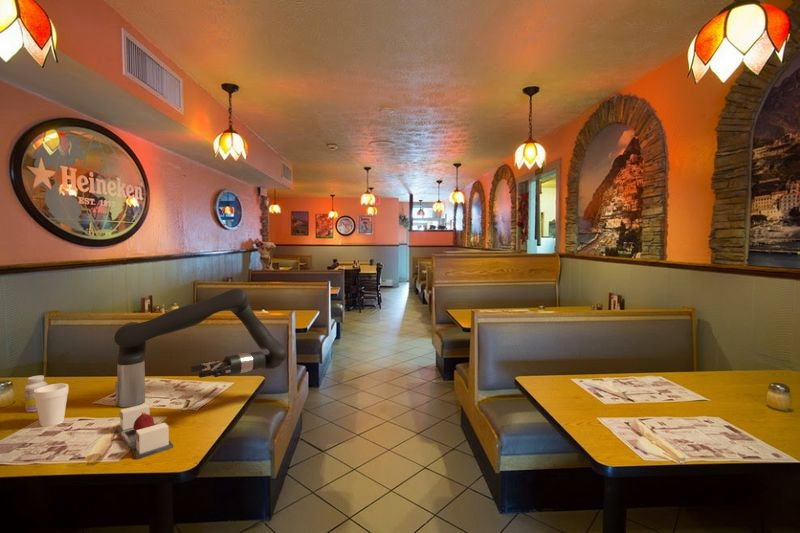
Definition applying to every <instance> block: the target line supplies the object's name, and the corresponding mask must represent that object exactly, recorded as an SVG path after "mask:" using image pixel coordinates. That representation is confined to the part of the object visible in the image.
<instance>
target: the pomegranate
mask: <svg viewBox="0 0 800 533" xmlns="http://www.w3.org/2000/svg"><path fill="white" fill-rule="evenodd" d="M154 423H155V420H154V417H153V416H152V415H148V414H146V413H145V412H144V411H143V412H142V414H141V415H140V416H139V417H138V418H137V419H136V421H135V422H134V426H133V427H134V430H135V431H136V430H140V429H143V428H147V427H150V426H154Z"/></svg>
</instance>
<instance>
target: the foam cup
mask: <svg viewBox="0 0 800 533" xmlns="http://www.w3.org/2000/svg"><path fill="white" fill-rule="evenodd" d="M68 394H69V384H68V383H52V384H48V385H46V386H42V387H39V388H37V389H35V390H34V398H35V401H36V406H37V411H36V412H37V414H38V419H39V423H40V427H43V428H44V427H45V428H46V427H47V428H48V427H49V428H50V427H53V426H58V425H60V424H62V423H64V420H65V414H66V406H67V400H68Z"/></svg>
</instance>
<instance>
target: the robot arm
mask: <svg viewBox="0 0 800 533" xmlns="http://www.w3.org/2000/svg"><path fill="white" fill-rule="evenodd" d="M249 302H250V301H249V298H248V295H247V293H246V291H244V290H243V289H240V288H233V289H229V290H227V291H225V292H222V293H219V294H217V295H214V296H212V297H209V298H207V299H204V300H201V301H197V302H194V303H191V304H186V305H184V306H180V307H177V308H174V309H172V310H169V311H167V312H165V313H163V314H160V315H158V316H157V317H154V318H152V319H149V320H145V321H142V322H136V321H131V322H127V323H125V324H123V325H122V326H121V327H119V328H118V329H117V330H116V332H115V334H114V337H113V339H114V342H115V344H116V345H117V346H119V348H118V355H117V358H116V361H117V365H116V366H117V367H116V368H117V369H116V371H117V381H116V382H115V406H117V407H120V408H130V407H134V406H138V405H143V404H144V403H145V401H146V385H145V384H146V381H145V380H146V377H145V376H146V372H145V371H146V370H145V366H146V364H145V356H146V350H147V349H146V346H147V345H146V342H147V341H149V340H151V339H154V338H157V337H159V336H162V335H167V334H171V333H174V332H178V331H181V330H182V331H183V330H186V329H188V328H191V327H194V326H196V325H198V324H201V323H203V322H204V321H205V320H206V319H208V318H209V317H212V315H214V314H216V313H220V312H223V311H226V310H229V311H230V312H231V313H232V314H233V315H234V316H235V317H237V319H239V320H240V321H241V323H242V324H243V325H244V327H245V329H246V330H247V331H248V333H249V335H250V336H251V338H252V340H253V341H254V342H255V344H256V345H257V346H258V348H259V349H261V350H267V351H268V352H269V353H267V354H265V353H264V352H263V351H253V352H248V353H247V352H244V353H238V354H237V353H236V354H231V355H227V356H225V357H224V359H223V360H222V361H221V360H218V359H213V360H208V361H201V363H200V364H196V365H191V366H190V372H191V373H195V372H198V378H201V379H202V378H207V377H214V378H219V377H223V376H233V375H238V374H239V375H240V374H243V373H244V374H245V373H247V372H250V371H255V370H259V369H263V370H264V369H265V370H266V369H267V370H269V369H270V370H272V369H276V368H279V367H280V366H281V365H282V363H283V362H284V361H285V360H286V358H287V357H288V351H287V349H286V347H285V346H284V344H282V343H281V342H280V341H278V340H277V339H276V338H275V337H274V336H273V335H272V334H271V332H270V331H269V329H268V328H267V327H266V326H265V324H264V322H262V320H260V319H259V318H258V317H257V316H256V314H255V312H254V311H253V309H252V307H251V305H250V303H249Z"/></svg>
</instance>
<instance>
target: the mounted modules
mask: <svg viewBox="0 0 800 533" xmlns="http://www.w3.org/2000/svg"><path fill="white" fill-rule="evenodd" d="M143 411H144V412H145V413H146V414H148V415H150V412H151V411H150V405H149V404H147V403H142V404H139V405H136V406H132V407H125V408H122V409H120V410H119V420H120V423H119V424H120V425H119V426H121V428H122V429H123V430H126V429H129V428H133V426H134V422H135V421H136V419H137V418H138V417H139V416H140V415H141V414H142V412H143ZM150 416H151V415H150ZM169 432H170V431H169V424H167V423H166V422H162V423H158V425H154V426H150V427H147V428H143V429H140V430H136V433H135V438H136V449H137V451H138V452H139V453H140V454H141V453H144V452H147V451H150V450H153V449H157V448H160V447H163V446H166V445H169V441H170V438H169V437H170V435H169V434H170V433H169Z"/></svg>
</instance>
